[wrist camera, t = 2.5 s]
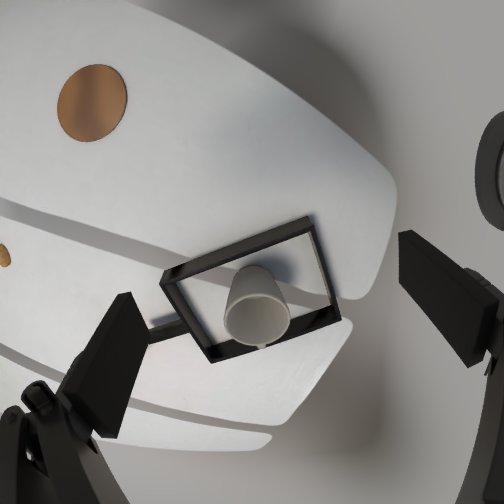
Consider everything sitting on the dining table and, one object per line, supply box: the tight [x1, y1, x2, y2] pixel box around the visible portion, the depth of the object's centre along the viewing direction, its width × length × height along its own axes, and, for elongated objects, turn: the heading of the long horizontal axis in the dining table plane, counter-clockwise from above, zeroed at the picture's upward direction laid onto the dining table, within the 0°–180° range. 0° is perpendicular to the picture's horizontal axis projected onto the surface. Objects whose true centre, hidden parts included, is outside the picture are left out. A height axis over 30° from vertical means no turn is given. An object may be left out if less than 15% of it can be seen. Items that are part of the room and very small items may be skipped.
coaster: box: [57, 65, 127, 142], centre depth 30 cm, size 10×10×1 cm
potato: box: [0, 244, 11, 267], centre depth 37 cm, size 3×4×2 cm
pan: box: [148, 216, 342, 364], centre depth 41 cm, size 27×15×4 cm, turn 111°
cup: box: [224, 266, 290, 349], centre depth 38 cm, size 8×10×8 cm
